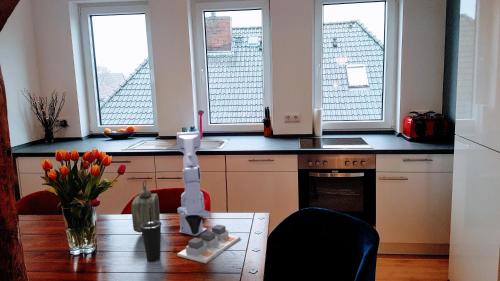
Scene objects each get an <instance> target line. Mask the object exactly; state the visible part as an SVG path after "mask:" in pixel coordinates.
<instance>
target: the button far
mask: <svg viewBox="0 0 500 281" xmlns="http://www.w3.org/2000/svg"><path fill="white" fill-rule="evenodd" d="M226 230H227V228H226V225H223V224H222V225H221V224H216V225H214V226H213V227H211V232H215V233H216V234H222V233H223V232H225V231H226Z"/></svg>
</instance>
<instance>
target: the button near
mask: <svg viewBox="0 0 500 281" xmlns="http://www.w3.org/2000/svg"><path fill="white" fill-rule="evenodd" d="M188 245H189V247H191V248H195V249H198V248H199V247H201V246H203V245H204V244H203V239H200V238H199V237H194V238H192V239H190V240H188Z"/></svg>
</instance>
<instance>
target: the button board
mask: <svg viewBox="0 0 500 281" xmlns="http://www.w3.org/2000/svg"><path fill="white" fill-rule="evenodd" d="M199 239H201V237H200V238H199ZM239 240H241V236H240V235H236V234H235V235H234V234H230V233H229V230H228V229H226V231H225V232H223V233H222V234H216V233H215V238H214V239H212V240H211V241H205V240H203V244H204V245H203V246H201V247H199V248H198V249H195V248H191V247H189V244H188V245H186V246H185V249H183V250H181V251H180V252H177V257H181V258H184V259H189V260H191V261H194V262H195V261H196V262H199V263H204V264H206V263H208V262H209V261H211V260H212V259H214V258H215V257H217V256H218V255H220V253H222V252H223V251H225V250H226V249H229V247H231V246H232V245H233V244H235V243H236V242H238V241H239Z"/></svg>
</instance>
